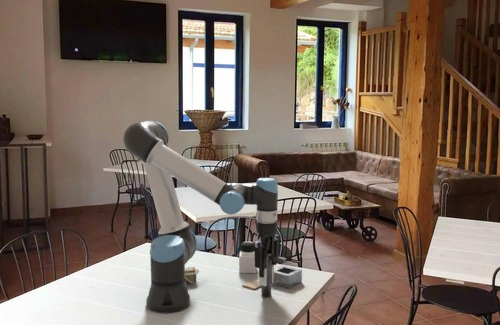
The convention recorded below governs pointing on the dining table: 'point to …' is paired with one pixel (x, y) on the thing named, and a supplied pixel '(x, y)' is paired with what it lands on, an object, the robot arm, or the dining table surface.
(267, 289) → the chuck key
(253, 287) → the copper plate
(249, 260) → the medicine bottle
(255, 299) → the dining table surface
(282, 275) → the block
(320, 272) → the dining table surface
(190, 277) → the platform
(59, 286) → the dining table surface
